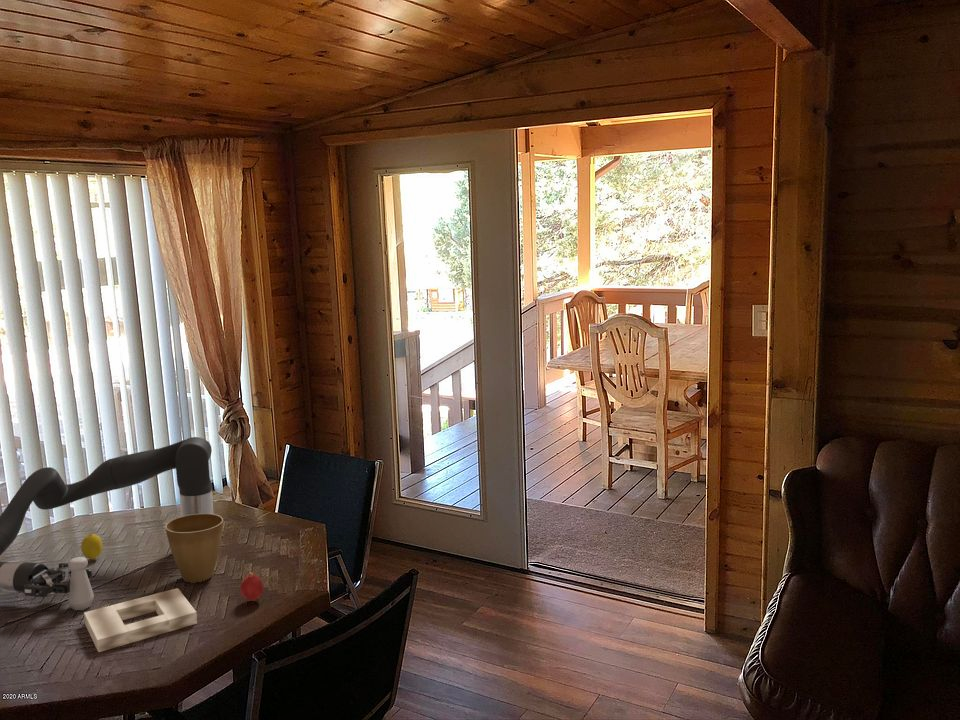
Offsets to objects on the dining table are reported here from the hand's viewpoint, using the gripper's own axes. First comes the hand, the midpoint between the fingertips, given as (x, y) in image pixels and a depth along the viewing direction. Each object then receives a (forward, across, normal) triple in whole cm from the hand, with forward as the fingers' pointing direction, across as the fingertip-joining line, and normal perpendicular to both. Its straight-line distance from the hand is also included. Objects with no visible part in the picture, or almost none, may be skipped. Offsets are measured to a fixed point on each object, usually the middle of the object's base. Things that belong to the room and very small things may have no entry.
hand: (80, 581), depth 194 cm
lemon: (-16, +27, +7) cm, 32 cm away
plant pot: (+20, +20, +7) cm, 30 cm away
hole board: (+20, -6, +7) cm, 22 cm away
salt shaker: (0, 0, +7) cm, 7 cm away
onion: (+42, +9, +7) cm, 43 cm away
